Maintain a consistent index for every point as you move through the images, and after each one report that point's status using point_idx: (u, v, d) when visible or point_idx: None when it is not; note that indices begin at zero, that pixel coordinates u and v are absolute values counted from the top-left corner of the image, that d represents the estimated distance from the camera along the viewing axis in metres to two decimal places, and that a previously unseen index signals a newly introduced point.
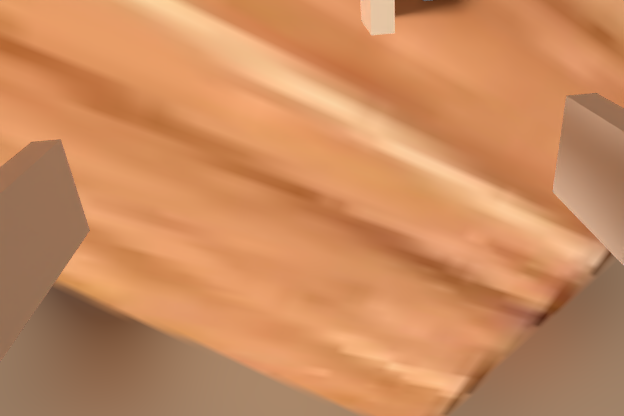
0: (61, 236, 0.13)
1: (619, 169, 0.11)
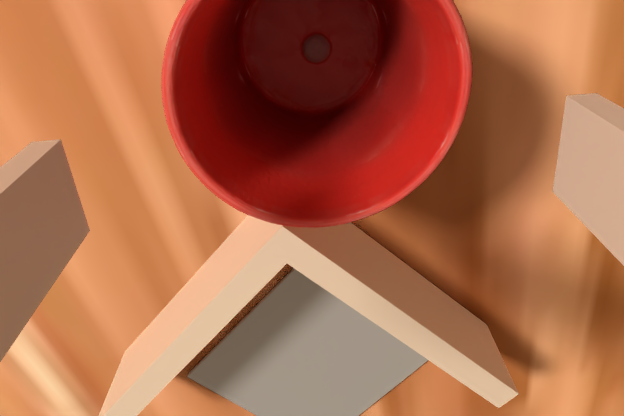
0: (61, 236, 0.13)
1: (619, 169, 0.11)
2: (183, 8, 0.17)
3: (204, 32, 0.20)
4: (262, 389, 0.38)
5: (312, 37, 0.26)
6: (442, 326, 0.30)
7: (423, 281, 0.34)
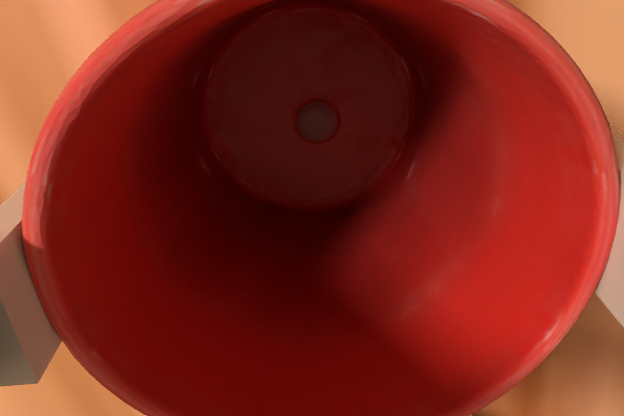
0: None
1: None
2: (50, 116, 0.08)
3: (119, 134, 0.11)
4: None
5: (311, 106, 0.17)
6: None
7: None
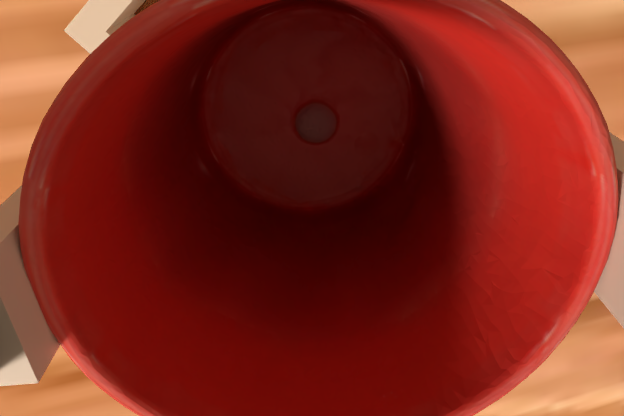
0: None
1: None
2: (46, 119, 0.08)
3: (116, 137, 0.11)
4: None
5: (309, 108, 0.17)
6: None
7: None
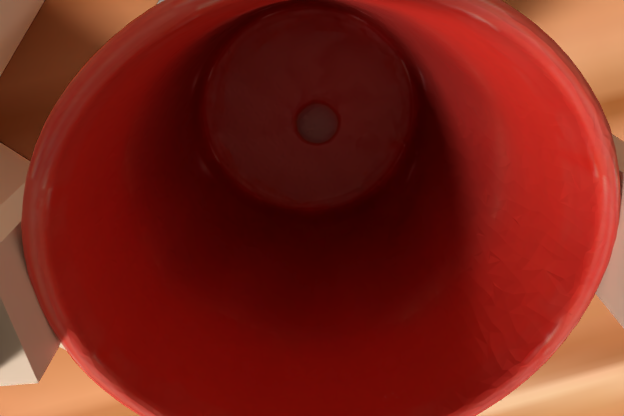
0: None
1: None
2: (49, 119, 0.08)
3: (118, 137, 0.11)
4: None
5: (311, 108, 0.17)
6: None
7: None
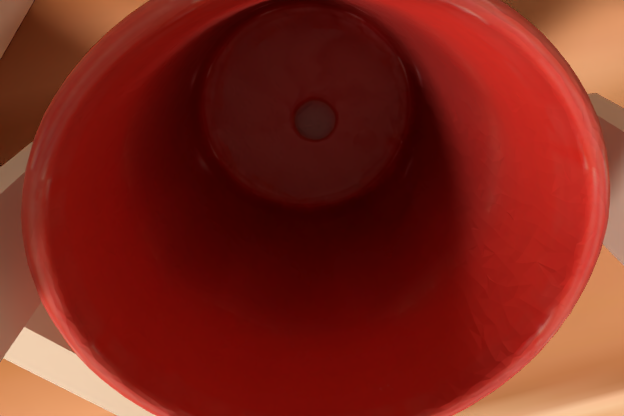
0: None
1: (619, 169, 0.11)
2: (48, 111, 0.09)
3: (117, 130, 0.11)
4: None
5: (308, 105, 0.17)
6: None
7: None
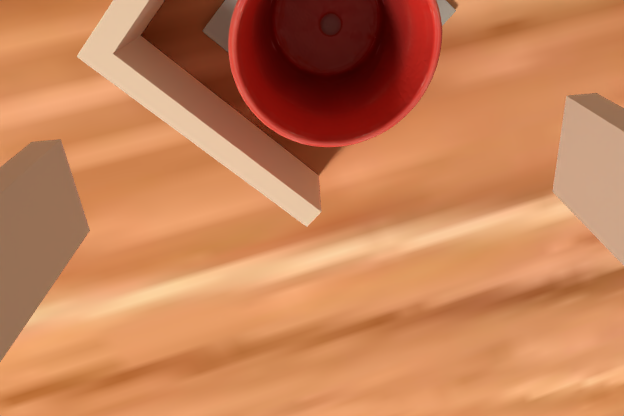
0: (61, 236, 0.13)
1: (619, 169, 0.11)
2: None
3: (255, 5, 0.28)
4: None
5: (327, 15, 0.35)
6: None
7: None
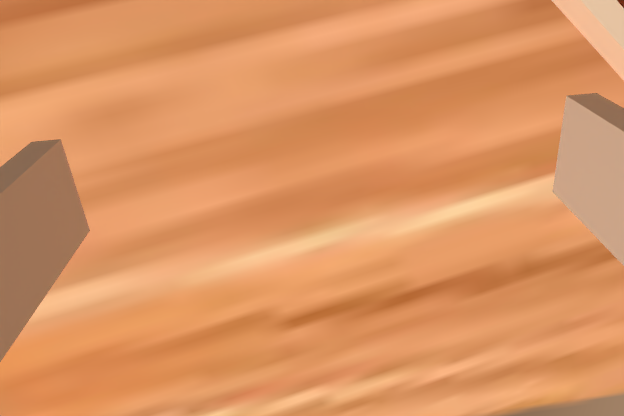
0: (61, 236, 0.13)
1: (619, 169, 0.11)
2: None
3: None
4: None
5: None
6: None
7: None
